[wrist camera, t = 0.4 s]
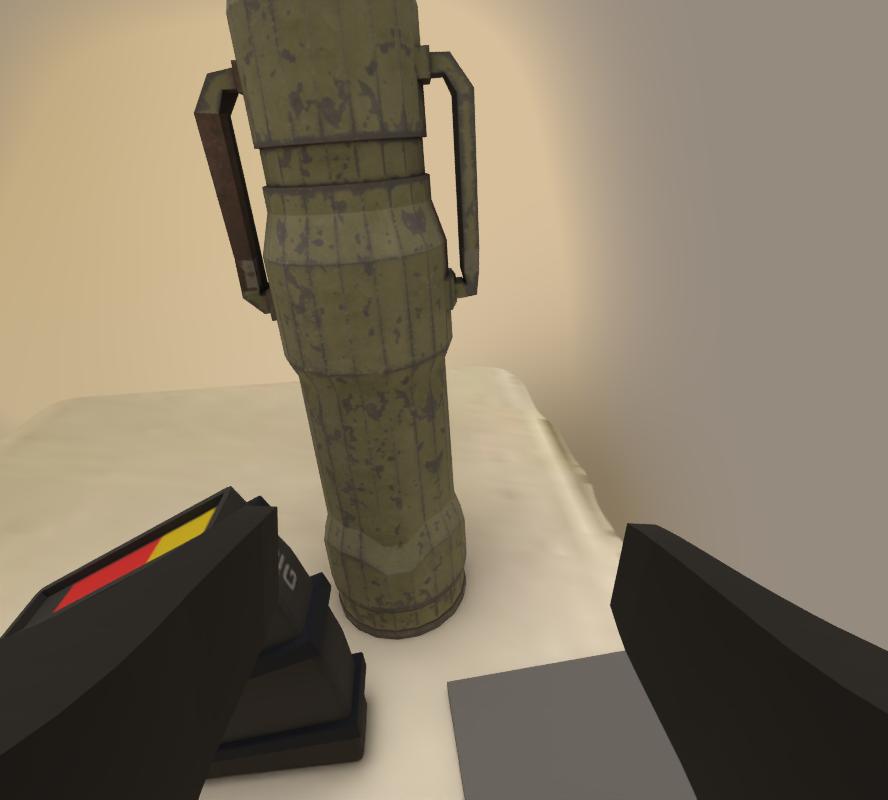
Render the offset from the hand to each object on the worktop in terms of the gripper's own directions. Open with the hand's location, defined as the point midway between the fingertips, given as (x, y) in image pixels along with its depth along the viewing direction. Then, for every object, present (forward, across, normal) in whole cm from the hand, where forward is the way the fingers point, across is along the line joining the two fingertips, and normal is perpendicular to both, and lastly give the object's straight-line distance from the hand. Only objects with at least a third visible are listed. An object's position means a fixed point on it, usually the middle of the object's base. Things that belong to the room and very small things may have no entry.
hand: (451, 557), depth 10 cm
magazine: (+11, +9, +20) cm, 24 cm away
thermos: (+21, +1, +17) cm, 27 cm away
